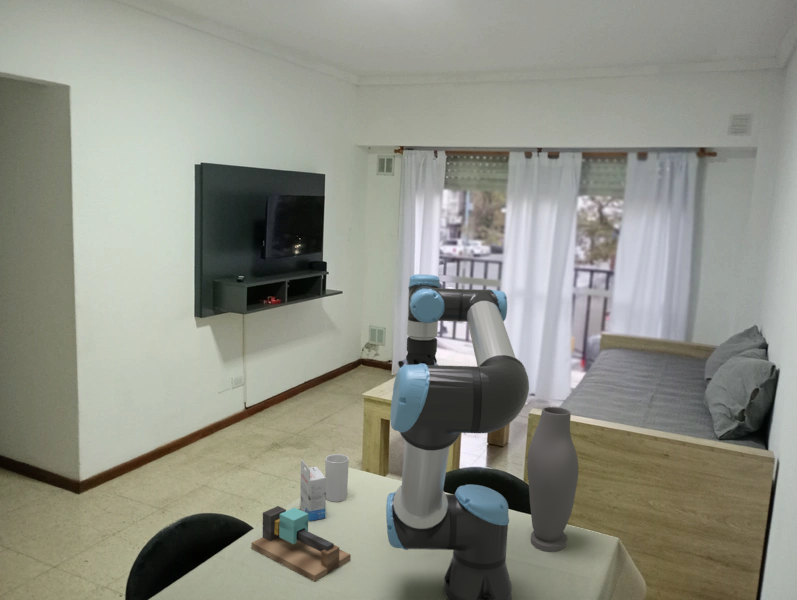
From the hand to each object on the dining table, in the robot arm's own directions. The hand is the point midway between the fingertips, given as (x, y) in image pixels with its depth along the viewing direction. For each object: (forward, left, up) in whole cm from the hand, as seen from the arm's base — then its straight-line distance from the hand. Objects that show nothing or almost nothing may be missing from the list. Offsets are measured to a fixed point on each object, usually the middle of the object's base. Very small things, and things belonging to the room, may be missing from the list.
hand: (418, 428), depth 163 cm
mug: (+32, -5, -30) cm, 44 cm away
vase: (-27, -22, -30) cm, 46 cm away
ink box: (+29, +8, -30) cm, 42 cm away
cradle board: (+16, +25, -29) cm, 42 cm away
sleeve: (+18, +25, -26) cm, 40 cm away
